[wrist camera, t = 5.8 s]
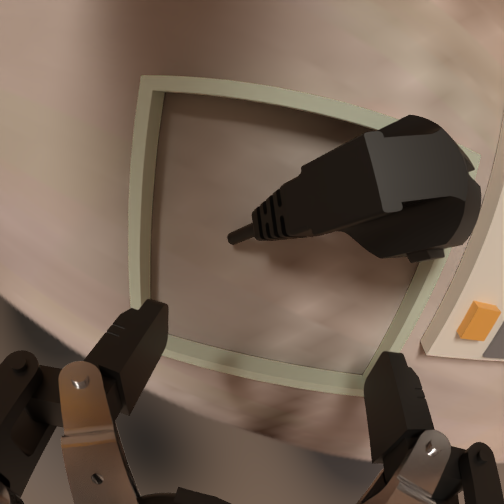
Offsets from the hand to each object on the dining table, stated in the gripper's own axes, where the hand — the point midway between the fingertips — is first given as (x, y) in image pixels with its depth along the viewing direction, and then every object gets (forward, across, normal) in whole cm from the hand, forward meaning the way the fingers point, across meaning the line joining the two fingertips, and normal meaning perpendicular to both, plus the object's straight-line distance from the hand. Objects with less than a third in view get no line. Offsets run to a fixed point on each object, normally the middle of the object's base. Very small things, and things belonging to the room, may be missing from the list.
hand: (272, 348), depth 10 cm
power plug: (+9, +1, 0) cm, 9 cm away
